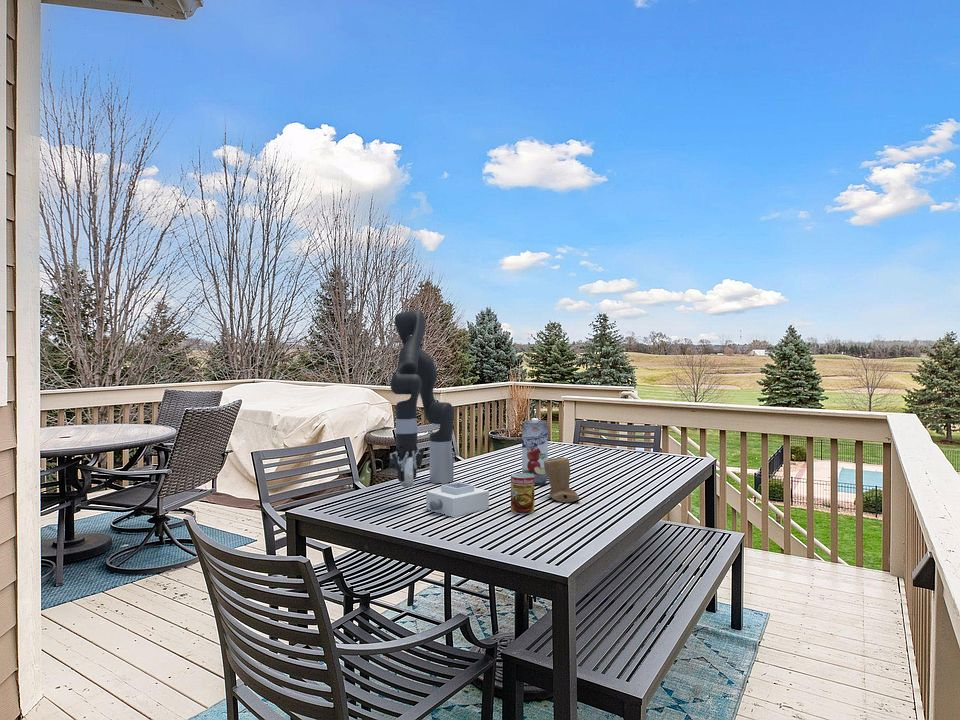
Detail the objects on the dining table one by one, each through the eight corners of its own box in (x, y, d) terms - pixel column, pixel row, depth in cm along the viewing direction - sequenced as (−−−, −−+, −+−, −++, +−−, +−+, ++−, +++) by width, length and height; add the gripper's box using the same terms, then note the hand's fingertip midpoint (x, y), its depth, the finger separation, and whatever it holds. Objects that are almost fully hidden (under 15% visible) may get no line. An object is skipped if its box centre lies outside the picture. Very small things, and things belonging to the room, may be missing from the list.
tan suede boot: (542, 493, 214) (542, 454, 214) (574, 494, 213) (574, 454, 214) (546, 503, 199) (546, 461, 199) (579, 504, 198) (579, 461, 198)
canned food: (510, 513, 185) (510, 477, 185) (510, 507, 193) (510, 472, 193) (534, 514, 185) (534, 477, 185) (533, 508, 193) (533, 473, 193)
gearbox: (461, 501, 202) (461, 479, 202) (488, 508, 192) (488, 485, 192) (419, 510, 189) (419, 487, 189) (446, 519, 179) (446, 493, 179)
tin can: (408, 483, 199) (408, 455, 199) (416, 485, 196) (415, 456, 196) (398, 485, 196) (398, 456, 196) (405, 487, 193) (405, 458, 193)
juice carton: (522, 481, 237) (522, 416, 237) (547, 481, 236) (547, 417, 236) (521, 485, 228) (521, 418, 229) (548, 486, 227) (547, 419, 228)
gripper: (416, 428, 204) (416, 475, 204) (383, 432, 194) (383, 482, 194) (429, 430, 199) (429, 478, 199) (396, 434, 189) (396, 485, 189)
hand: (407, 480), depth 196 cm, fingers closed on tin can, 4 cm apart
